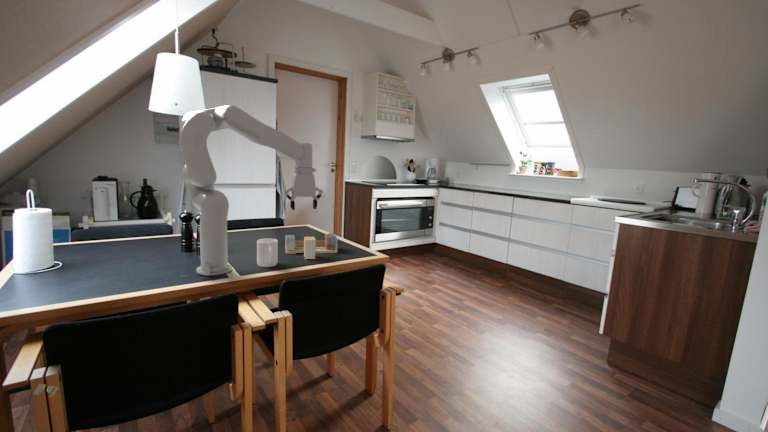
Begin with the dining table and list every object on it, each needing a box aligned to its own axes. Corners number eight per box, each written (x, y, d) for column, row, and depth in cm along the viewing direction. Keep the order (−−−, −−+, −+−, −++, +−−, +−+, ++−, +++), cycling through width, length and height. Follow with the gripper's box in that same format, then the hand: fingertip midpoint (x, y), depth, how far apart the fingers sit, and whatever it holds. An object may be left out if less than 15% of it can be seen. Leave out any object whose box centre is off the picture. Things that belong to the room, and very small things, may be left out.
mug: (281, 269, 149) (282, 244, 147) (260, 271, 145) (260, 245, 143) (275, 260, 159) (275, 237, 158) (255, 262, 155) (255, 238, 154)
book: (315, 259, 164) (315, 240, 163) (305, 260, 163) (305, 240, 162) (313, 255, 171) (314, 236, 170) (303, 255, 170) (304, 236, 168)
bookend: (294, 250, 172) (295, 237, 171) (286, 250, 171) (286, 237, 170) (293, 246, 178) (294, 234, 177) (285, 247, 177) (285, 234, 176)
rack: (337, 252, 177) (337, 236, 176) (286, 254, 170) (286, 237, 169) (333, 248, 186) (334, 232, 185) (285, 249, 178) (285, 232, 177)
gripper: (320, 170, 169) (320, 207, 172) (282, 170, 162) (283, 208, 165) (325, 171, 162) (324, 210, 165) (285, 171, 155) (285, 211, 158)
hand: (303, 209), depth 165 cm, fingers open, 9 cm apart
